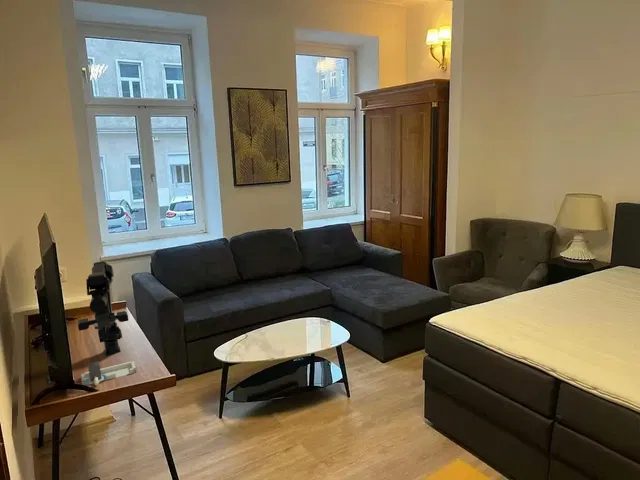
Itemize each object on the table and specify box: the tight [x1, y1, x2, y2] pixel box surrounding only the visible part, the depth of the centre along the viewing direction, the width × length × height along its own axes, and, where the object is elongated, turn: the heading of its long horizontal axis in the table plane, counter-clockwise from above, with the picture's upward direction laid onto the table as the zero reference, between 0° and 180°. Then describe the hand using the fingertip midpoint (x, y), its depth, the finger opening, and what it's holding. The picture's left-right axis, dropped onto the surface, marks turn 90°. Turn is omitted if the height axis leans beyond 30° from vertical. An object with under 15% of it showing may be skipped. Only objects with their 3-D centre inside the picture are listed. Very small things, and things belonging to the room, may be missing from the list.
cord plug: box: [87, 360, 102, 386], centre depth 183 cm, size 10×4×6 cm, turn 28°
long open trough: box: [80, 360, 137, 386], centre depth 188 cm, size 8×20×3 cm, turn 118°
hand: (106, 339), depth 193 cm, fingers closed
